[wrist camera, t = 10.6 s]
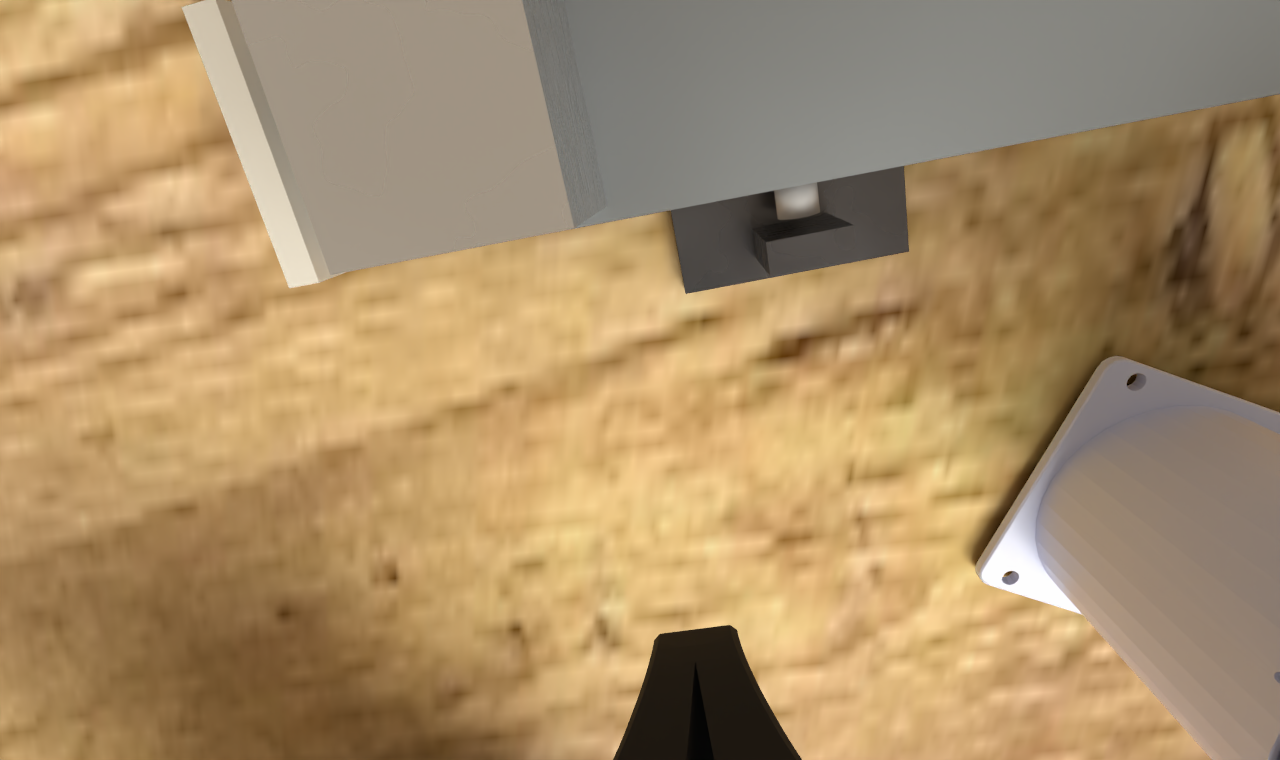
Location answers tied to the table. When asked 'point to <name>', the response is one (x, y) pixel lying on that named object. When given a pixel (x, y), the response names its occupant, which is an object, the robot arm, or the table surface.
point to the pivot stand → (791, 232)
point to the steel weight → (426, 121)
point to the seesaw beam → (815, 90)
